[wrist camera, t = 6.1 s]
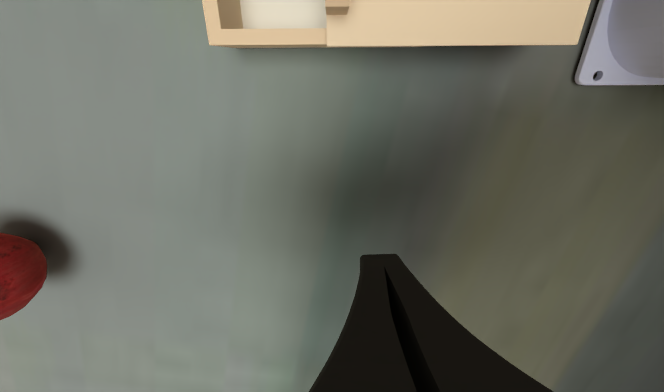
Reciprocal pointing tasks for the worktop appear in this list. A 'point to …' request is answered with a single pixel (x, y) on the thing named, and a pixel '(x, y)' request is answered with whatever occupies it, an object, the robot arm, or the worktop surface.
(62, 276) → the worktop surface
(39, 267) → the onion
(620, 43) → the robot arm
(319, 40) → the base
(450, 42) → the lid
